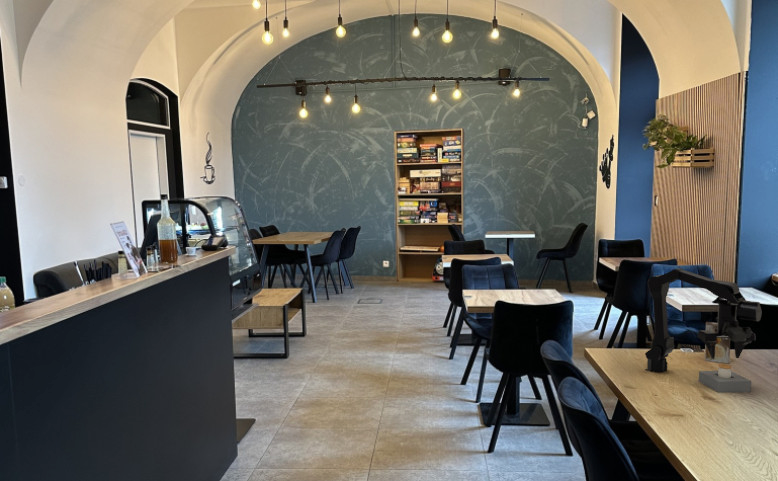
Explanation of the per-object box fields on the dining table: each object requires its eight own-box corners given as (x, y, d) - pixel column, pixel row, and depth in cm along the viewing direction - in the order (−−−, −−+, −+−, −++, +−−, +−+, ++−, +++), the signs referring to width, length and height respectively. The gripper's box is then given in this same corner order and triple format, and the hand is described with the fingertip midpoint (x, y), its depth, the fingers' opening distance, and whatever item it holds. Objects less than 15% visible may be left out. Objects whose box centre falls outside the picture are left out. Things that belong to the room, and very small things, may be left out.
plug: (722, 388, 205) (723, 366, 204) (715, 384, 209) (716, 363, 208) (732, 388, 205) (733, 366, 205) (725, 384, 209) (726, 363, 209)
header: (718, 395, 201) (718, 381, 201) (698, 383, 213) (699, 371, 213) (750, 394, 202) (751, 380, 201) (729, 383, 213) (729, 370, 213)
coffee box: (728, 359, 242) (730, 323, 241) (729, 363, 237) (731, 326, 235) (704, 357, 247) (705, 321, 245) (704, 361, 241) (706, 324, 240)
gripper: (715, 322, 197) (714, 365, 198) (767, 321, 197) (765, 364, 199) (697, 315, 208) (695, 356, 209) (745, 314, 208) (743, 355, 210)
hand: (725, 358), depth 206 cm, fingers open, 9 cm apart
